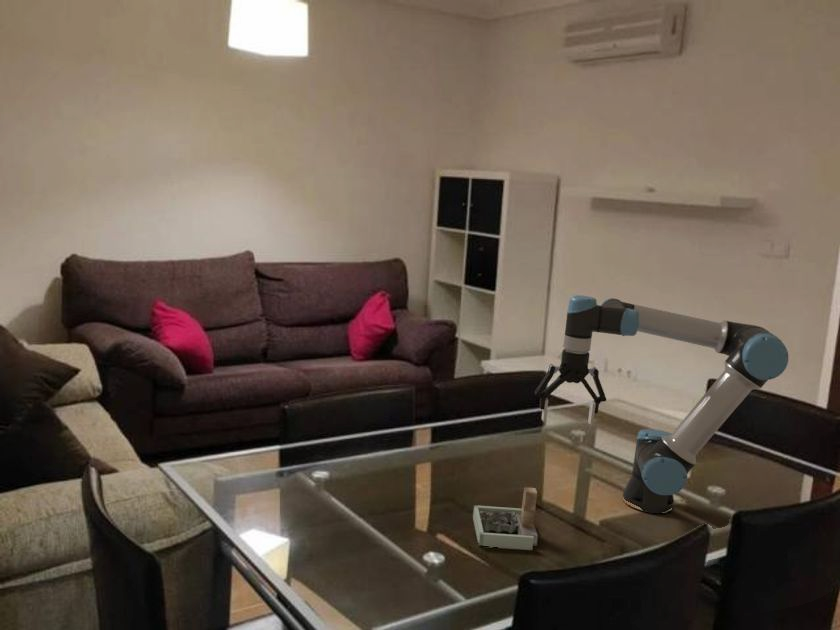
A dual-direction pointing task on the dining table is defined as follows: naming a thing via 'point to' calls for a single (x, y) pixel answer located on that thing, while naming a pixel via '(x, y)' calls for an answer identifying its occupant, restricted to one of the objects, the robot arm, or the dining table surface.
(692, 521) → the dining table surface
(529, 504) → the scraper
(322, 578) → the dining table surface
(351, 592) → the dining table surface
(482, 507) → the box
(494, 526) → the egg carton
